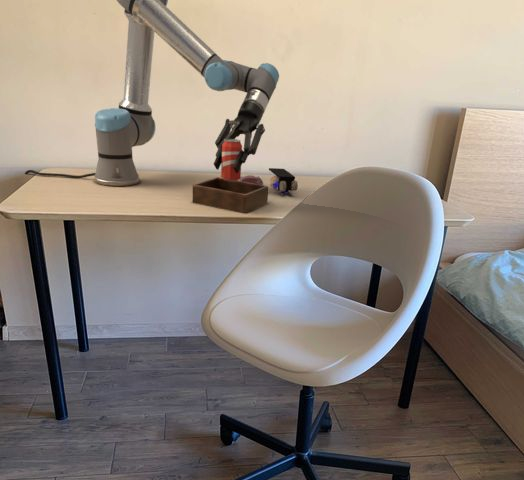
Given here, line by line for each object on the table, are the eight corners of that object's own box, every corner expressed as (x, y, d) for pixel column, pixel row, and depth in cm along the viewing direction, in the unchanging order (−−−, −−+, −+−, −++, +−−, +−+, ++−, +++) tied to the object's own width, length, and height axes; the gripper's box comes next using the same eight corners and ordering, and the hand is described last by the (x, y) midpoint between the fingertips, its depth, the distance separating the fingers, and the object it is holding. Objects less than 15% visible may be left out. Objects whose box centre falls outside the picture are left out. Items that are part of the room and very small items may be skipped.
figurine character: (297, 201, 182) (282, 186, 193) (300, 179, 177) (284, 166, 188) (280, 201, 180) (265, 186, 191) (282, 180, 175) (267, 166, 186)
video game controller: (235, 196, 183) (238, 180, 177) (233, 187, 185) (235, 171, 179) (262, 196, 185) (265, 180, 179) (259, 187, 188) (262, 171, 182)
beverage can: (233, 177, 168) (235, 138, 162) (243, 181, 164) (246, 141, 158) (217, 178, 165) (218, 138, 159) (227, 182, 161) (228, 142, 155)
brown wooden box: (192, 202, 165) (192, 184, 163) (217, 193, 178) (217, 177, 175) (245, 213, 158) (246, 195, 156) (267, 203, 171) (268, 186, 168)
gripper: (223, 96, 164) (195, 156, 160) (277, 103, 157) (249, 165, 153) (230, 113, 171) (203, 171, 166) (282, 120, 164) (256, 180, 160)
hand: (225, 168), depth 160 cm, fingers closed on beverage can, 6 cm apart
